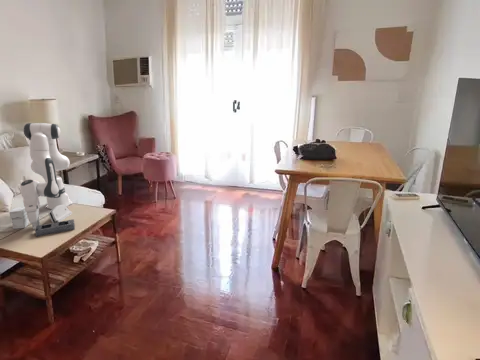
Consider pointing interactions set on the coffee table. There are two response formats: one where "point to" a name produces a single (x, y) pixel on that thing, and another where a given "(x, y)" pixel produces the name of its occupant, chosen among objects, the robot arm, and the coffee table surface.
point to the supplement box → (19, 217)
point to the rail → (55, 227)
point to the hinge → (59, 213)
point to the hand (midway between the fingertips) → (36, 224)
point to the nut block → (37, 224)
